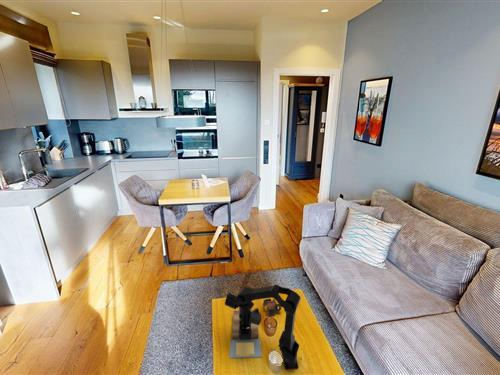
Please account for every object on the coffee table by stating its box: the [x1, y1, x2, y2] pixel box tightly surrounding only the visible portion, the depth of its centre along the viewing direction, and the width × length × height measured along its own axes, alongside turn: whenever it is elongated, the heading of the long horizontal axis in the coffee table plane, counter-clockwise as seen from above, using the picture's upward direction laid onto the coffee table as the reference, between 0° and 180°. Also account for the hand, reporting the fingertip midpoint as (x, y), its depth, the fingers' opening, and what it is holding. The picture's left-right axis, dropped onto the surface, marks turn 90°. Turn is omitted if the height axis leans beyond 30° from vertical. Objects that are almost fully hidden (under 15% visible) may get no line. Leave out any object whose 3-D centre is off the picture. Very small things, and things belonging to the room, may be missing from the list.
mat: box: [229, 338, 263, 359], centre depth 127 cm, size 10×16×1 cm, turn 91°
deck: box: [231, 309, 259, 340], centre depth 139 cm, size 16×14×4 cm
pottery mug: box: [262, 298, 282, 317], centre depth 150 cm, size 12×10×8 cm
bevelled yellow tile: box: [236, 342, 254, 357], centre depth 125 cm, size 6×9×2 cm, turn 91°
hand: (245, 334), depth 129 cm, fingers closed
